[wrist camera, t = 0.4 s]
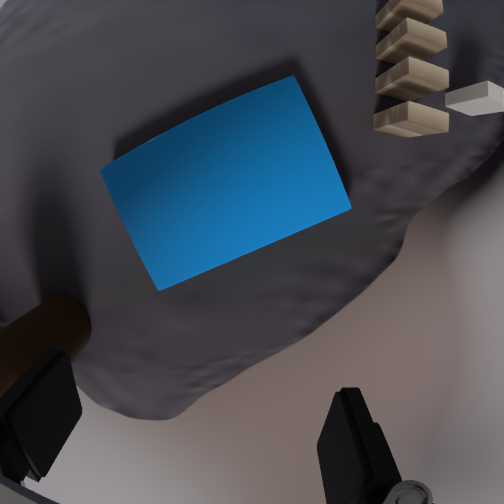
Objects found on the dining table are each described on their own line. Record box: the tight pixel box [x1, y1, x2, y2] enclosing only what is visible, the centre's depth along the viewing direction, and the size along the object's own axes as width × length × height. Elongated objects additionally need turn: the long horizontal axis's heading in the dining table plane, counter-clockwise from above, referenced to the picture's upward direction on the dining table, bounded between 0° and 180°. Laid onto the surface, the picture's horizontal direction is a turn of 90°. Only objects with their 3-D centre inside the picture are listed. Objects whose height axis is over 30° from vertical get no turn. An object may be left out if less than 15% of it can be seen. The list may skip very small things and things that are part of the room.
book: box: [100, 75, 352, 291], centre depth 36 cm, size 17×4×25 cm
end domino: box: [445, 81, 504, 116], centre depth 29 cm, size 2×5×10 cm, turn 85°
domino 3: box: [375, 56, 449, 101], centre depth 29 cm, size 2×5×10 cm, turn 85°
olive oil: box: [0, 295, 91, 398], centre depth 31 cm, size 11×11×25 cm
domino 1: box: [375, 0, 443, 32], centre depth 26 cm, size 2×5×10 cm, turn 85°
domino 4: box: [373, 101, 449, 137], centre depth 30 cm, size 2×5×10 cm, turn 85°
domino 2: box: [376, 18, 447, 64], centre depth 28 cm, size 2×5×10 cm, turn 85°
